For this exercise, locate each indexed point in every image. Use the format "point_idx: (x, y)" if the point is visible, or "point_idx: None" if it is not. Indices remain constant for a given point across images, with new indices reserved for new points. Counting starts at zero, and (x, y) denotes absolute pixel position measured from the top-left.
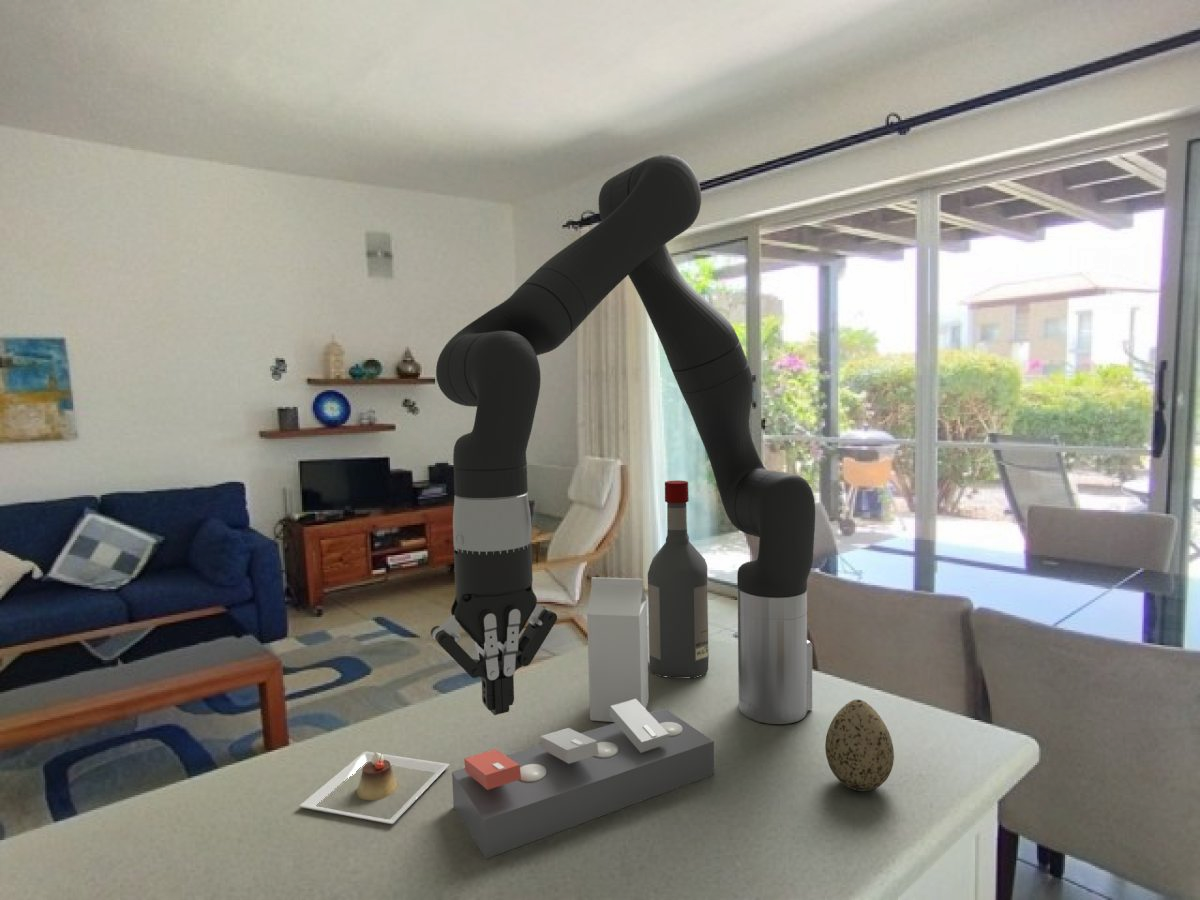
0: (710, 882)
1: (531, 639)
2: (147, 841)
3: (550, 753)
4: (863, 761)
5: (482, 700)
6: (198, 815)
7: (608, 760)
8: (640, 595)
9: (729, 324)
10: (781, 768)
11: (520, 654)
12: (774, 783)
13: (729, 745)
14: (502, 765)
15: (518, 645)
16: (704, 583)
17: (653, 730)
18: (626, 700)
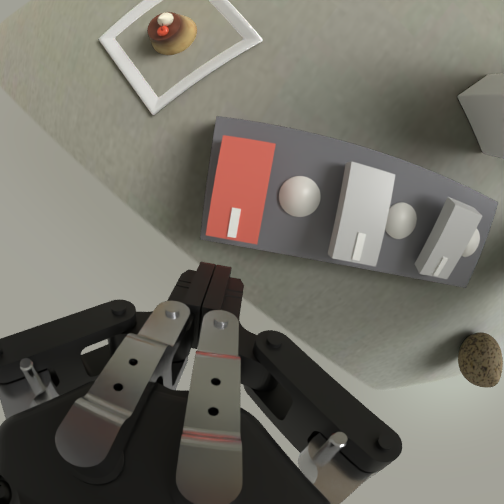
0: (330, 352)
1: (281, 427)
2: (25, 43)
3: (340, 193)
4: (463, 374)
5: (181, 275)
6: (51, 19)
7: (386, 241)
8: None
9: None
10: (473, 298)
11: (251, 388)
12: (455, 308)
13: (488, 248)
14: (240, 222)
15: (271, 373)
16: None
17: (443, 267)
18: (494, 141)
